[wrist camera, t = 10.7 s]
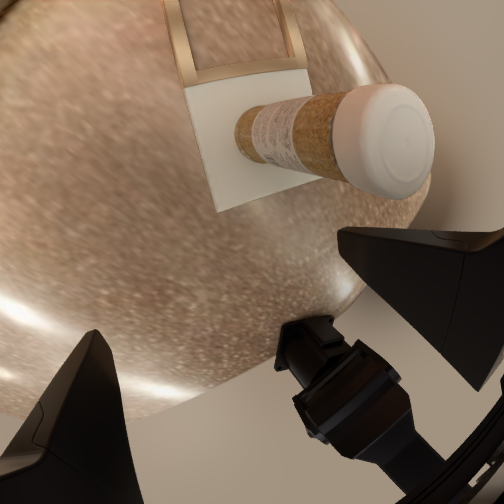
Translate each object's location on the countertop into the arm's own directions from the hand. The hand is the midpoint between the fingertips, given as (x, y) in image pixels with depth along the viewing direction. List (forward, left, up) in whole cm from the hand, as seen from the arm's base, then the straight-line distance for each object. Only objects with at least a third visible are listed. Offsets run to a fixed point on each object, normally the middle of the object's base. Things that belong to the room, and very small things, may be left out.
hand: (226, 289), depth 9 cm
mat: (+6, -6, -13) cm, 16 cm away
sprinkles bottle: (+6, -6, -13) cm, 15 cm away
